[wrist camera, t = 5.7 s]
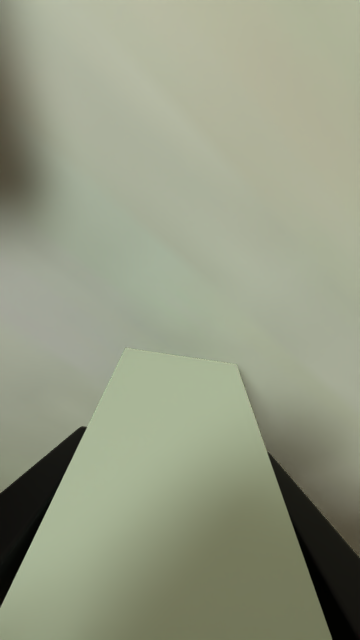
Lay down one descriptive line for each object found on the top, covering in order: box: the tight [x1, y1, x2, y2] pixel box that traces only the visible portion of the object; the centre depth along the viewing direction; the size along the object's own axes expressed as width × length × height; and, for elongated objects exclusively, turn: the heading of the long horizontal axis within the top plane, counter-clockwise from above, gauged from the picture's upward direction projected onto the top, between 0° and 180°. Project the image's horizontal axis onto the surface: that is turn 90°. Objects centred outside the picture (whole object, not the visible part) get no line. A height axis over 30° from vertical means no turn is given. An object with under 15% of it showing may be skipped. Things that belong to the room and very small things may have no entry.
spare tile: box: [0, 348, 332, 640], centre depth 7 cm, size 2×5×10 cm, turn 81°
